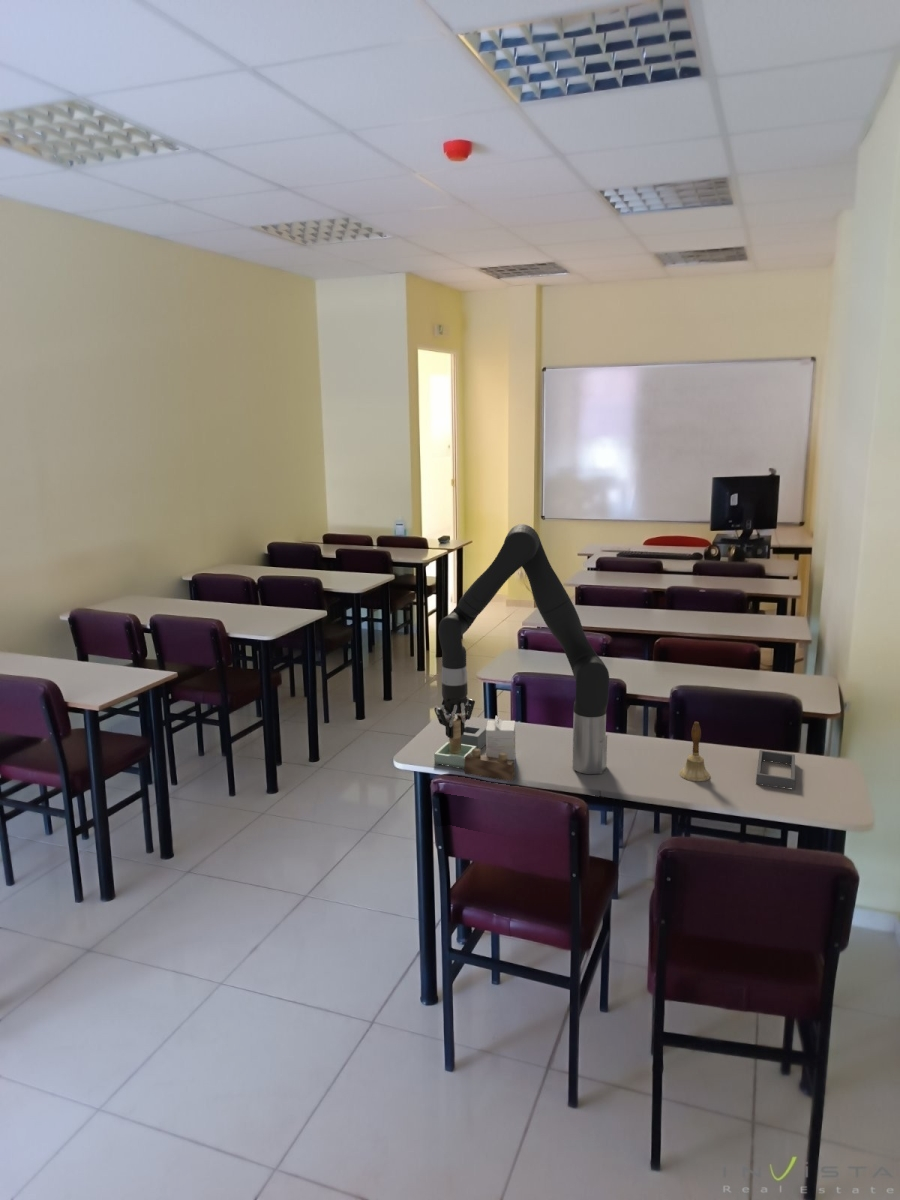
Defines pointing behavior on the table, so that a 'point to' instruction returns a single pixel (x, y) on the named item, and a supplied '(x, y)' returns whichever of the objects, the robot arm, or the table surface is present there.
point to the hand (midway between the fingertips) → (455, 735)
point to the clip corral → (772, 779)
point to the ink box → (500, 738)
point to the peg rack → (490, 766)
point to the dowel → (456, 737)
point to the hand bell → (695, 760)
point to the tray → (453, 755)
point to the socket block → (474, 736)
